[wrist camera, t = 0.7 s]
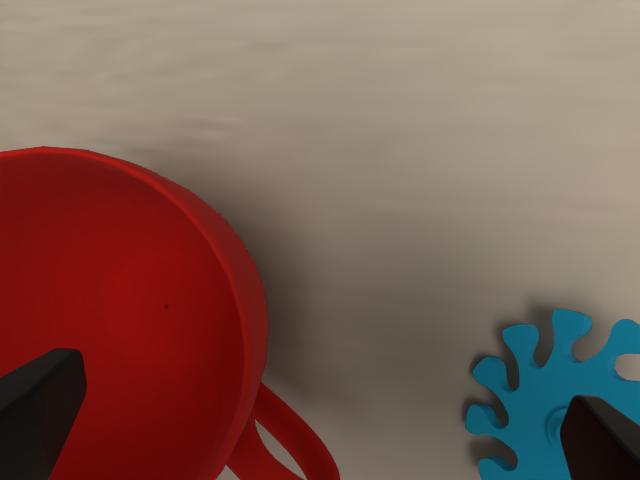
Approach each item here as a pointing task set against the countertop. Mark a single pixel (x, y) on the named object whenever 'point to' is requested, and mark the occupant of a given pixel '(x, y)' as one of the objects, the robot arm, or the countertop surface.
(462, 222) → the countertop surface
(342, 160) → the countertop surface
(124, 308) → the ceramic cup
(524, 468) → the gear
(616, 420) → the robot arm
